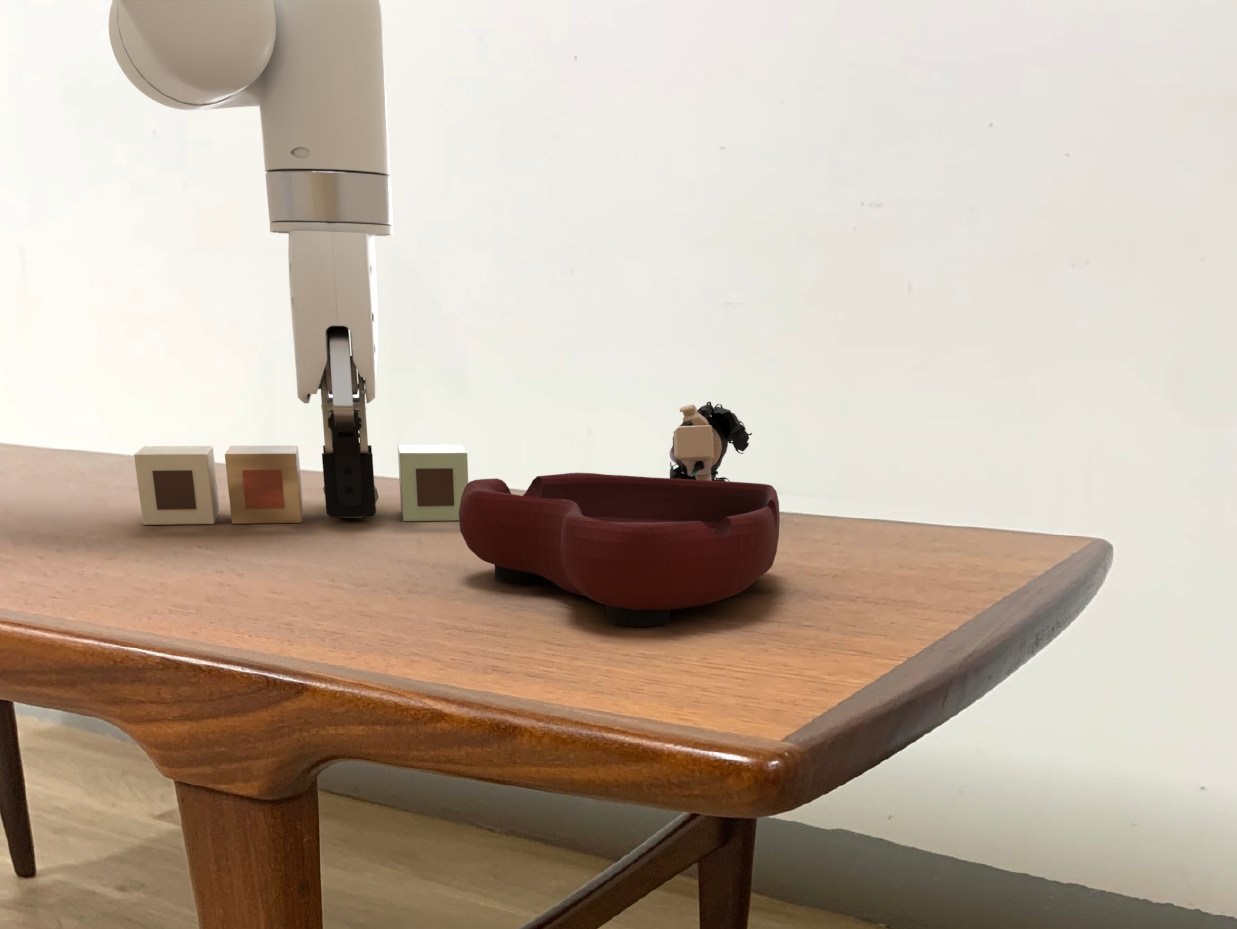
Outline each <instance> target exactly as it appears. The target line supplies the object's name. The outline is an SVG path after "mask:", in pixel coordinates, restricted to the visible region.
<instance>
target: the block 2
mask: <svg viewBox="0 0 1237 929" xmlns="http://www.w3.org/2000/svg"><path fill="white" fill-rule="evenodd" d="M299 452H300V451H299V446H298V445H230V446H229V447H228V449H227V450H226V451H225V453H224V460H225V470H226V480H227V488H228V489H227V490H228V498H229V507H230V508H229V510H230V518H231V524H233V525H239V524H240V525H245V524H246V525H247V524H249V525H250V524H251V525H252V524H253V525H254V524H255V525H256V524H301V523H302V521H303V516H304V500H303V488H302V487H303V486H302V478H301V476H302V475H301V465H300V453H299Z"/></svg>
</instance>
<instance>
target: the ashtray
mask: <svg viewBox="0 0 1237 929" xmlns="http://www.w3.org/2000/svg"><path fill="white" fill-rule="evenodd" d="M780 518H781V517H780V501H779V497H778V492H777V490H776V489H775V488H774V486H773V485H771V484H767V483H758V482H741V481H730V482H729V481H728V480H725V481H711V480H693V479H673V478H670V477H650V476H637V475H636V476H635V475H623V474H622V475H621V474H620V475H619V474H605V473H593V472H567V473H566V472H565V473H558V474H556V473H555V474H547V475H546V474H545V475H537V476H536V477H535V478H534V479H532V481H531V483H530V484H529V486H528V487H527V489H526V491H525V493H523V495H519V494H513V493H512V492H511V490H510V487H509V486H508V485H507V483H506V482H505V481H504V480H503V479H500V478H481V479H480V478H479V479H474V480H471V481H468V484H467V485H466V486H465V488H464V491H463V494H462V497H461V502H460V507H459V532H460V533H461V536H462V538H463V540H464V542H465V544H466V546H467V548H468V549H469V550H470V551H471V552H472V553H473V554H474V555H475V556H476V557H477V558H478V559H480V560H481V561H483V562H484V563H488V564H491V565H494V579H495V580H497V581H501V582H503V583H504V582H505V583H510V584H511V583H512V584H535V583H540V582H545V581H549V582H551V583H553V584H555V585H556V586H557V587H559V588H561V589H563V590H565V591H567V592H570V593H572V594H576V595H580V596H585V597H586V598H589V599H590V600H592V601H593V602H597V603H599V604H602V605H606V620H607V621H608V622H609V623H611V624H614V625H617V626H623V627H632V628H633V627H634V628H644V627H645V628H647V627H648V628H649V627H657V626H661V625H665V624H667V623H669V621H670V614H671V612H670V611H671V610H681V609H682V610H683V609H687V608H694V607H699V606H704V605H708V604H712V603H715V602H718V601H721V600H725V599H728V598H732V597H733V596H735V595H738V594H740V593H742V592H744V591H745V590H746V589H748V588H749V587H751V586H752V584H753V583H755V582H756V581H757V580H758V579H759V578H761V577H763V576H764V575H765V574H766V573H767V572H769V571H770V569H771V568H772V566H773V565H774V562H775V558H776V555H777V552H778V545H779V538H780V523H781V522H780V521H781V520H780Z"/></svg>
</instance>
